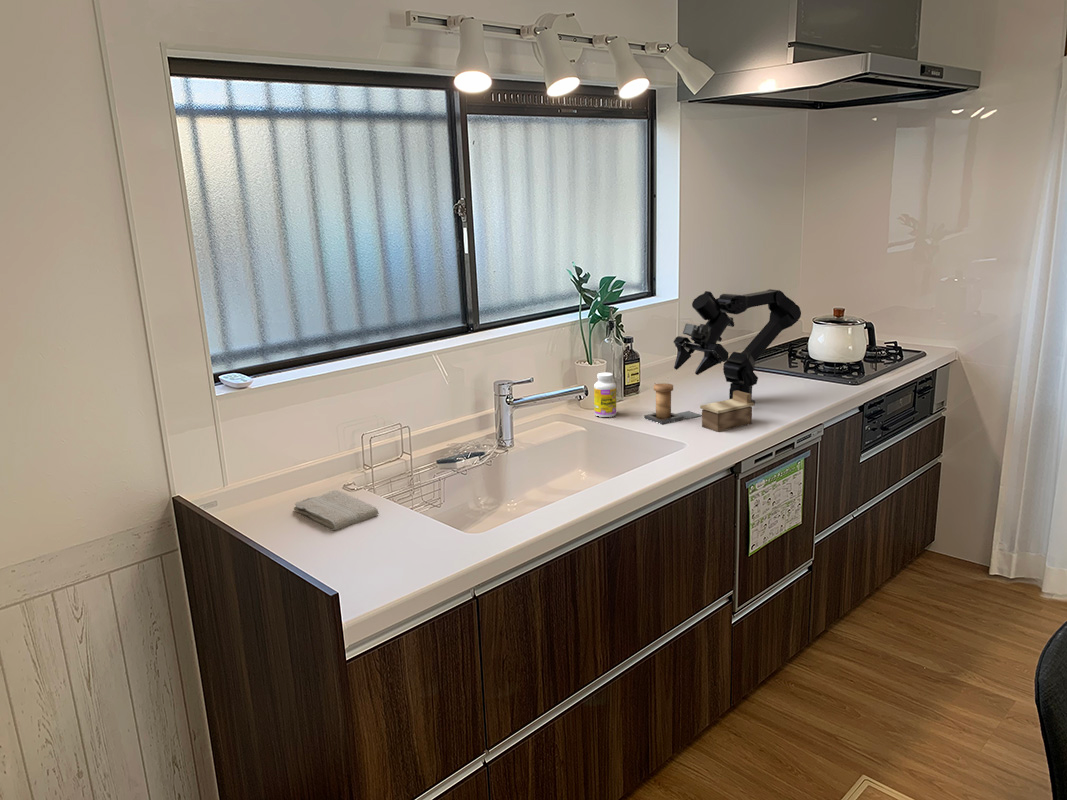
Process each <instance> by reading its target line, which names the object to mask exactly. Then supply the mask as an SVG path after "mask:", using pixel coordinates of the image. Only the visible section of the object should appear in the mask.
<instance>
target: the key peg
mask: <svg viewBox="0 0 1067 800" xmlns="http://www.w3.org/2000/svg"><path fill="white" fill-rule="evenodd" d="M653 391H655V413H656V417H657V418H660V419H666V418H671V413H672V391H674V384H671V383H664V382H663V383H655V384H654V385H653Z"/></svg>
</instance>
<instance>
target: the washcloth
mask: <svg viewBox="0 0 1067 800" xmlns="http://www.w3.org/2000/svg"><path fill="white" fill-rule="evenodd" d="M294 505H295V506H294V507H293V510H294V511H295V512H296V513H297V514H298V515H300V516H301V517H303V518H305V519H308V520H309V521H311V522H313V523H315V524H317V525H320V526H322V527H324V528H325V529H327V530H330V531H338V530H341V529H344V528H346V527H349V526H351V525H354V524H356V523H361V522H363V521H367V520H368V519H371V518H375V517H377V516H378V515H379V511H378V508H377V507H376V506H373V505H372V504H369V503H367V502H365V501H363V500H361V499H359V498H356V497H355V496H353V495H349V494H347V493H344V492H343V491H341V490H338V489H337V490H336V489H334V490H332V491H329V492H326V493H324V494H322V495H317V496H312V497H307V498H305V499H303V500H300V501H297V502H296V503H294Z"/></svg>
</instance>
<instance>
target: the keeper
mask: <svg viewBox="0 0 1067 800" xmlns="http://www.w3.org/2000/svg"><path fill="white" fill-rule="evenodd" d="M643 417H644V418H645V419H644V420H647V419H648V420H647V421H650V420H652V421H651V422H653V421H655V422H654V423H656V422H658V423H657V424H659V423H660V424H659V425H664V423H666V424H668V423H669V422H670V423H674V421H675V422H679V421H682V420H684V419H683V416H680V415H677V413H673V412H671V418H666V419H660V418H657V417H656V412H653V413H649V414H644V416H643ZM678 420H679V421H678ZM670 423H669V424H670Z"/></svg>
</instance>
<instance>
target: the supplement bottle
mask: <svg viewBox="0 0 1067 800" xmlns="http://www.w3.org/2000/svg"><path fill="white" fill-rule="evenodd" d="M596 377H597V381H596V382H595V383H594V384H593V390H594V391H593V398H594V399H593V403H594V404H593V407H594V412H593V413H594V415H596V417H597V416H599V417H598V418H601V417H609V418H613V417H615V416H616V415H617V384H616V383H615V381H613V379H614V375H613V372H606V371H605V372H598V373H597V375H596ZM612 416H613V417H612Z"/></svg>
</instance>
